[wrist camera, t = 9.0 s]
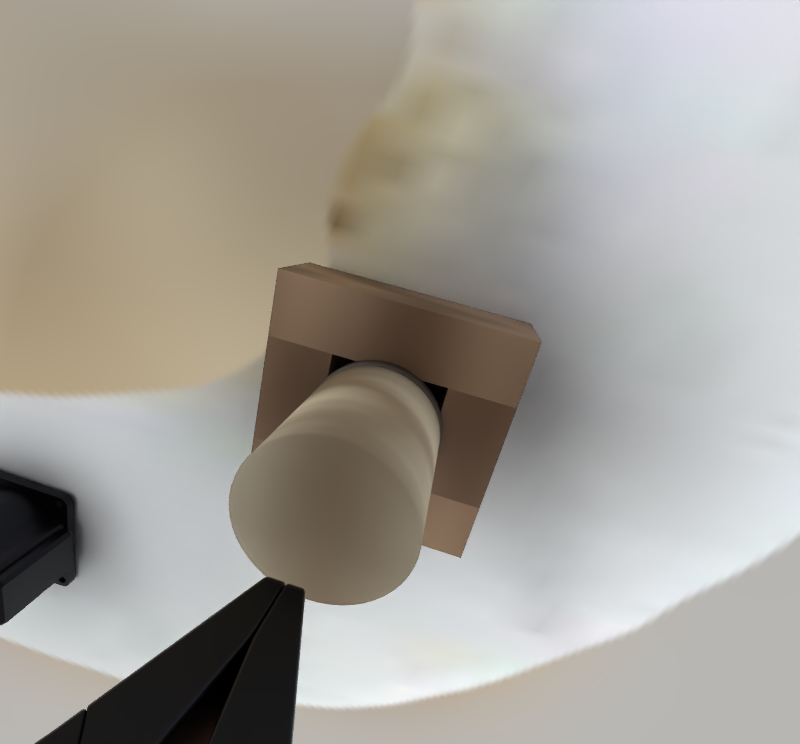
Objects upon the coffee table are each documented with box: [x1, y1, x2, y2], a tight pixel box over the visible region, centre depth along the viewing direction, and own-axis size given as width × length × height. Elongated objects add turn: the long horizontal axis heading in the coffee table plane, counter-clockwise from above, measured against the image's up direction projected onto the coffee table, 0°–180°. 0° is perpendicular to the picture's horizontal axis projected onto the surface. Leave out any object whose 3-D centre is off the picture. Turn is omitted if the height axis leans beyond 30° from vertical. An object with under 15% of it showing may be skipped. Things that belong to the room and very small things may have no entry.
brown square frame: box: [251, 263, 541, 558], centre depth 18 cm, size 9×9×3 cm
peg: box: [229, 360, 443, 605], centre depth 15 cm, size 5×5×9 cm
